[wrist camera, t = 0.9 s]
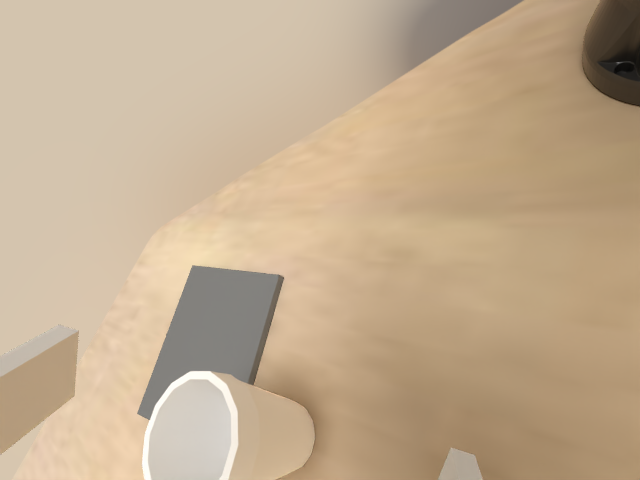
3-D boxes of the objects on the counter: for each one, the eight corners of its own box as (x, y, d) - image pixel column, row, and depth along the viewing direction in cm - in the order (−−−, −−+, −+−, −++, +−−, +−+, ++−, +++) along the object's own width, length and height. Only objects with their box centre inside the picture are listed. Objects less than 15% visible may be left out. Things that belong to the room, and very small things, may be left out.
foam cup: (266, 374, 41) (172, 358, 30) (338, 397, 36) (254, 386, 25) (239, 470, 38) (125, 487, 27) (314, 510, 33) (208, 548, 22)
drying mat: (197, 267, 53) (192, 265, 53) (283, 277, 45) (279, 274, 44) (144, 413, 47) (137, 413, 46) (232, 458, 39) (225, 458, 38)
